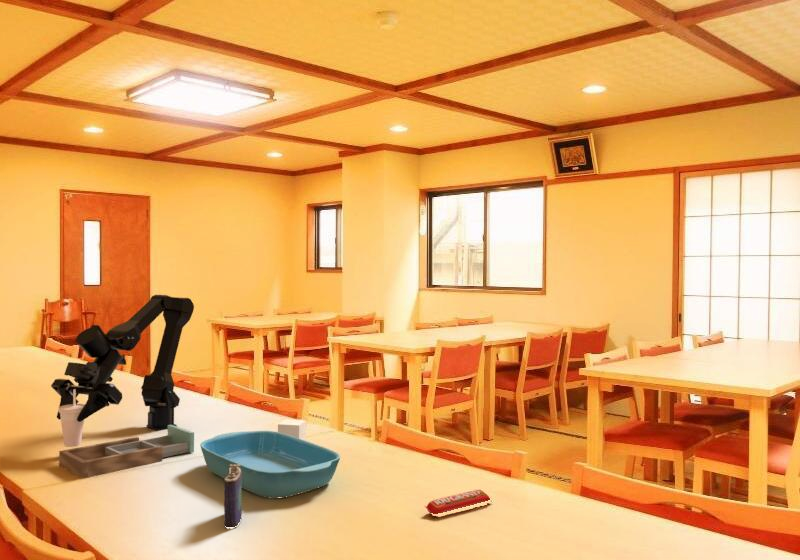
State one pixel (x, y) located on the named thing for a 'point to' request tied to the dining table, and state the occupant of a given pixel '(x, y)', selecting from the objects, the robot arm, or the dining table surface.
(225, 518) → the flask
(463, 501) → the candy bar
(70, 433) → the smoothie
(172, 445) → the tray
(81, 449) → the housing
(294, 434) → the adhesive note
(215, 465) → the casserole dish
